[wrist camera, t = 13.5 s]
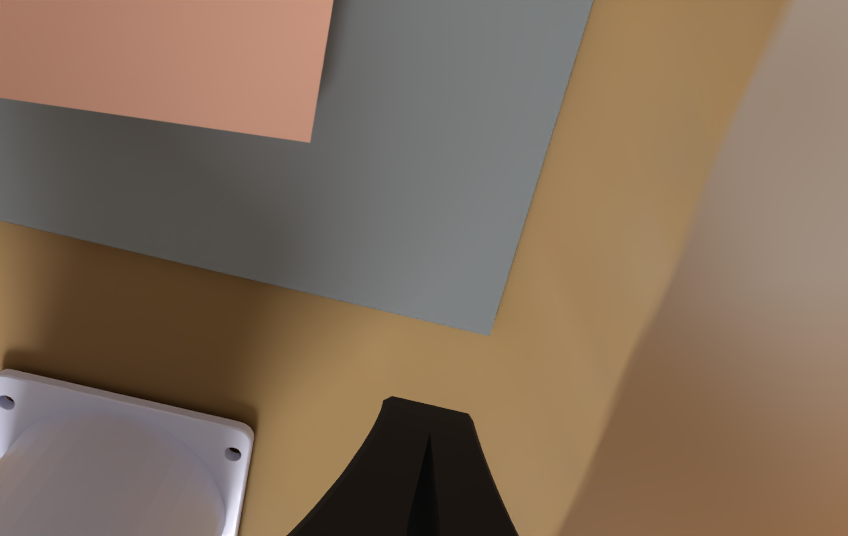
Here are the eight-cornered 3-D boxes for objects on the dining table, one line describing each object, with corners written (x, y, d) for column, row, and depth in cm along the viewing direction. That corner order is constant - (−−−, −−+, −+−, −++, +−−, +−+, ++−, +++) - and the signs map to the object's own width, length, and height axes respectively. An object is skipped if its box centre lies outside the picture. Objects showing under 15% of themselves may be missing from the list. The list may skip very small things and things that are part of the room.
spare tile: (309, 142, 19) (-98, 83, 17) (305, 120, 20) (-72, 63, 18) (342, -55, 17) (-114, -152, 15) (335, -65, 18) (-83, -155, 16)
